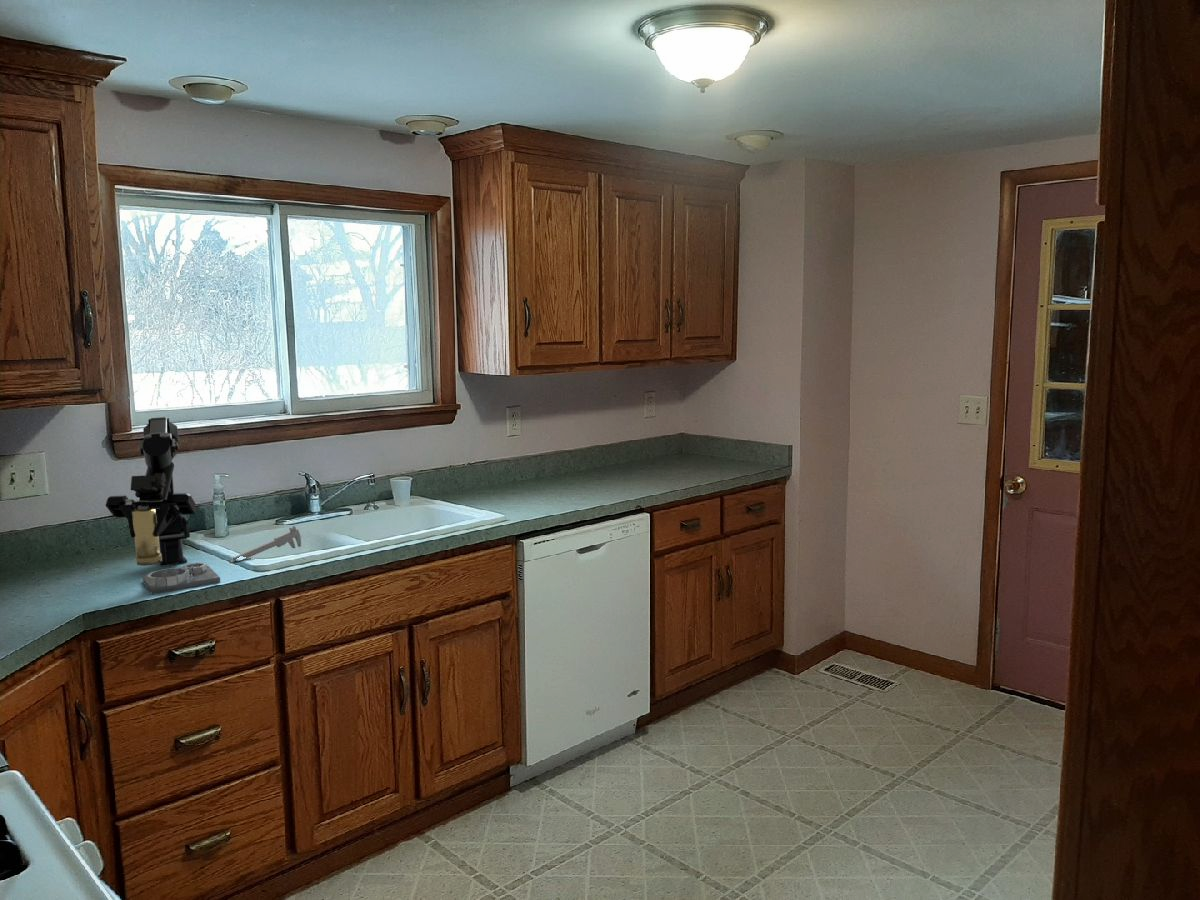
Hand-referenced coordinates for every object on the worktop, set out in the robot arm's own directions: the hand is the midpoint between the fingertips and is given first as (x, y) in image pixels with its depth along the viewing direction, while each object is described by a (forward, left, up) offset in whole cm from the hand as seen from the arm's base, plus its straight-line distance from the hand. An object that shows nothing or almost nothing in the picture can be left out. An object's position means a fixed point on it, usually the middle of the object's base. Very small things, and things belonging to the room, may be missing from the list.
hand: (144, 536), depth 211 cm
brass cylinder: (-1, +1, -7) cm, 7 cm away
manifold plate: (-4, +7, -13) cm, 16 cm away
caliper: (-17, +31, -14) cm, 38 cm away
